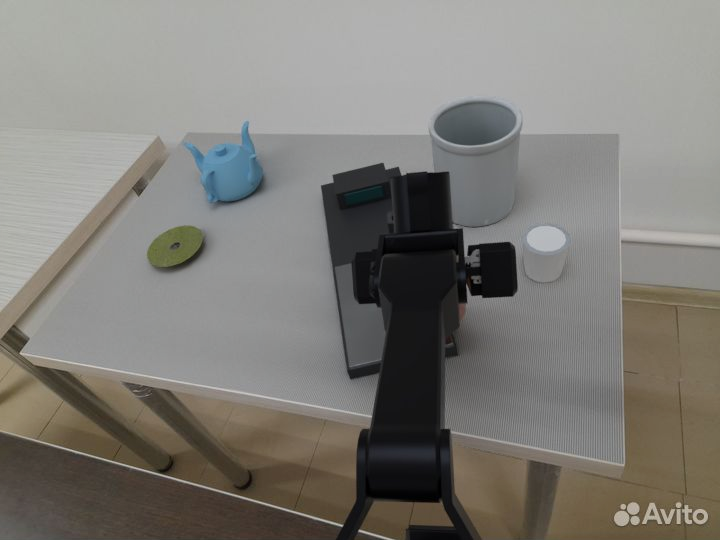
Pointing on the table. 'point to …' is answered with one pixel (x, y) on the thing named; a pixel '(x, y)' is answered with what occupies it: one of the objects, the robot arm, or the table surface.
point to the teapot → (229, 169)
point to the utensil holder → (478, 156)
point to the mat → (174, 246)
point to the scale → (360, 234)
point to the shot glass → (545, 251)
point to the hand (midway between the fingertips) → (436, 269)
